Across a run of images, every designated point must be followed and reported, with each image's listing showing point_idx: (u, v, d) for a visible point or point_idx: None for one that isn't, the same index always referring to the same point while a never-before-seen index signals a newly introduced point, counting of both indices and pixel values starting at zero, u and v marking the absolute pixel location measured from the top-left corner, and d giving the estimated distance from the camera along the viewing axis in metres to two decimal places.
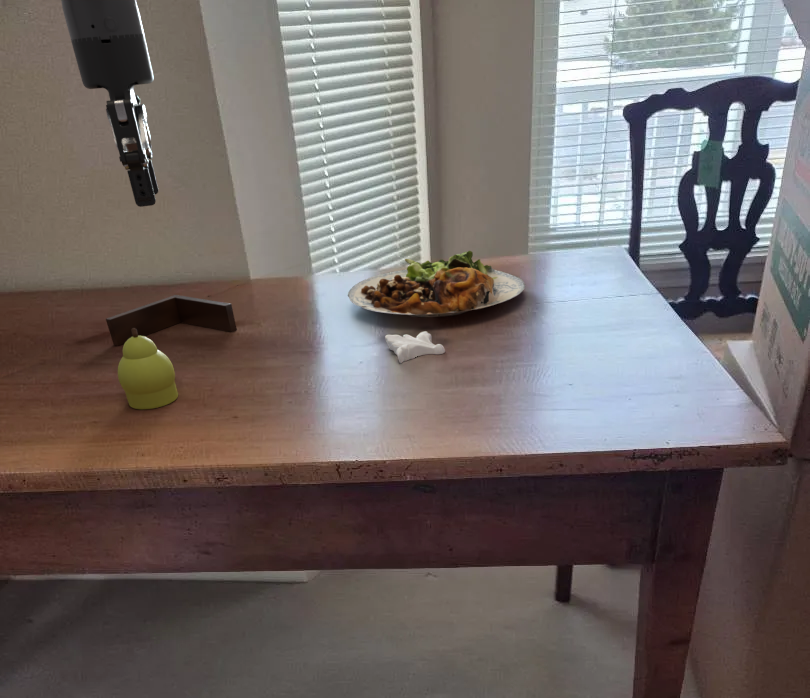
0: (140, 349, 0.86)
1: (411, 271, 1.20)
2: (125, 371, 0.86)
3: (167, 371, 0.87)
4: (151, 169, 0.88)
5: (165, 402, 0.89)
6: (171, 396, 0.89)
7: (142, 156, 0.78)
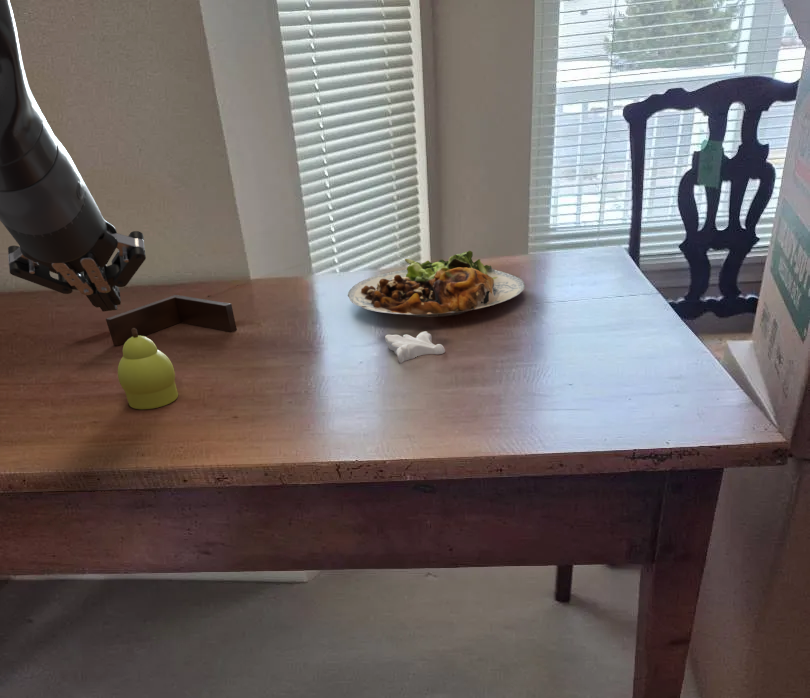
0: (140, 349, 0.86)
1: (411, 271, 1.20)
2: (125, 371, 0.86)
3: (167, 371, 0.87)
4: None
5: (165, 402, 0.89)
6: (171, 396, 0.89)
7: None
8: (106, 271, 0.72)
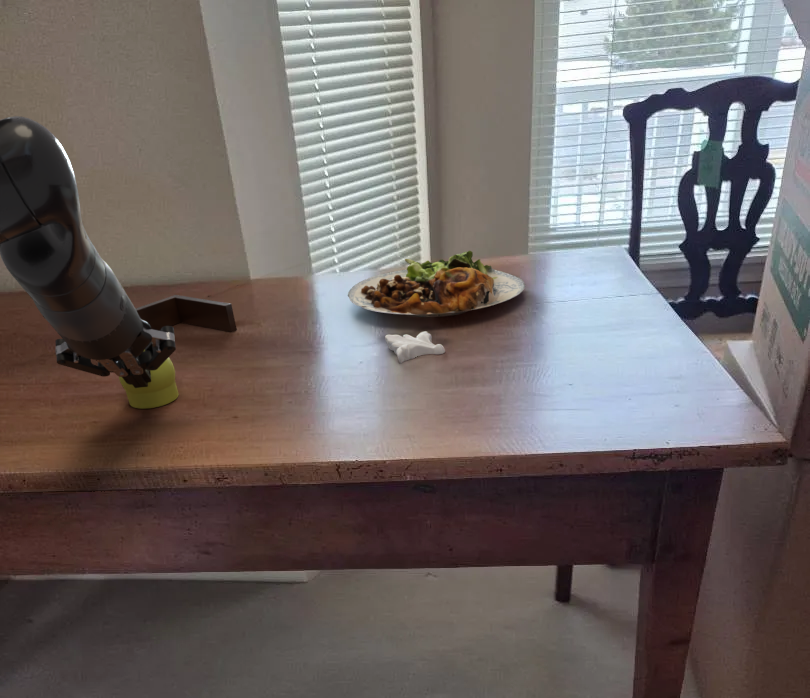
0: None
1: (411, 271, 1.20)
2: None
3: (167, 370, 0.88)
4: None
5: (166, 401, 0.89)
6: (171, 395, 0.89)
7: None
8: (140, 357, 0.81)
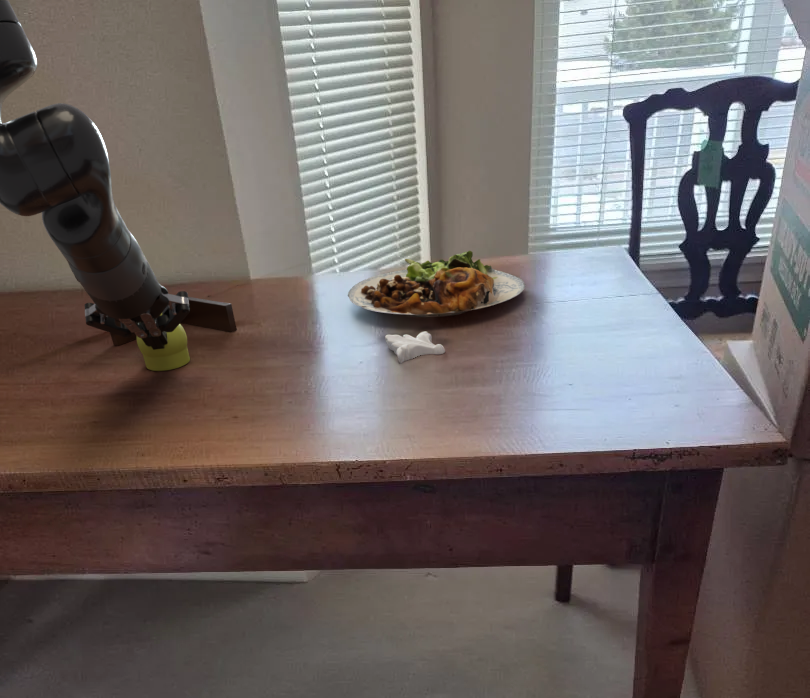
0: None
1: (411, 271, 1.20)
2: None
3: (181, 336, 0.99)
4: None
5: (180, 364, 1.00)
6: (185, 359, 1.00)
7: None
8: (158, 320, 0.92)
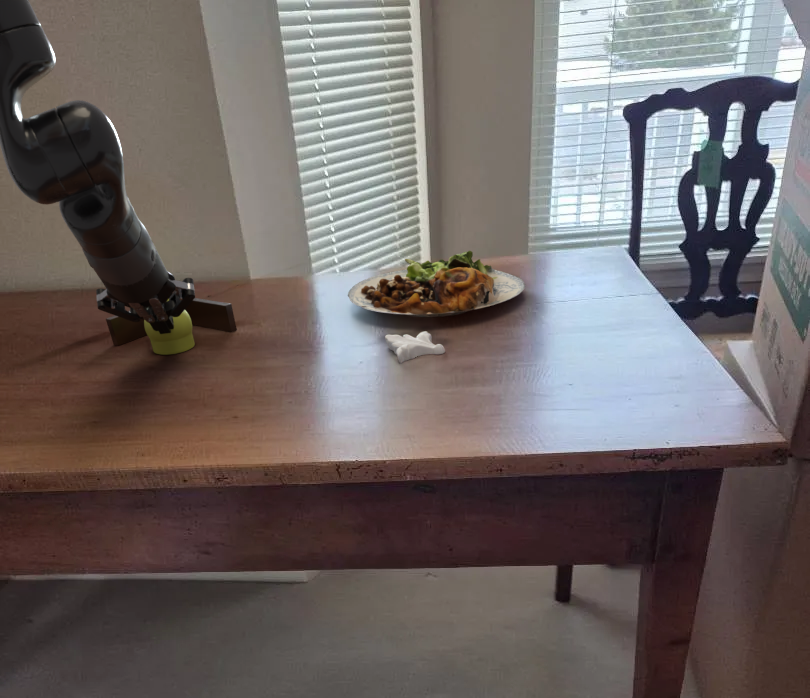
0: None
1: (411, 271, 1.20)
2: None
3: (187, 321, 1.04)
4: None
5: (185, 348, 1.05)
6: (190, 343, 1.06)
7: None
8: (165, 305, 0.97)
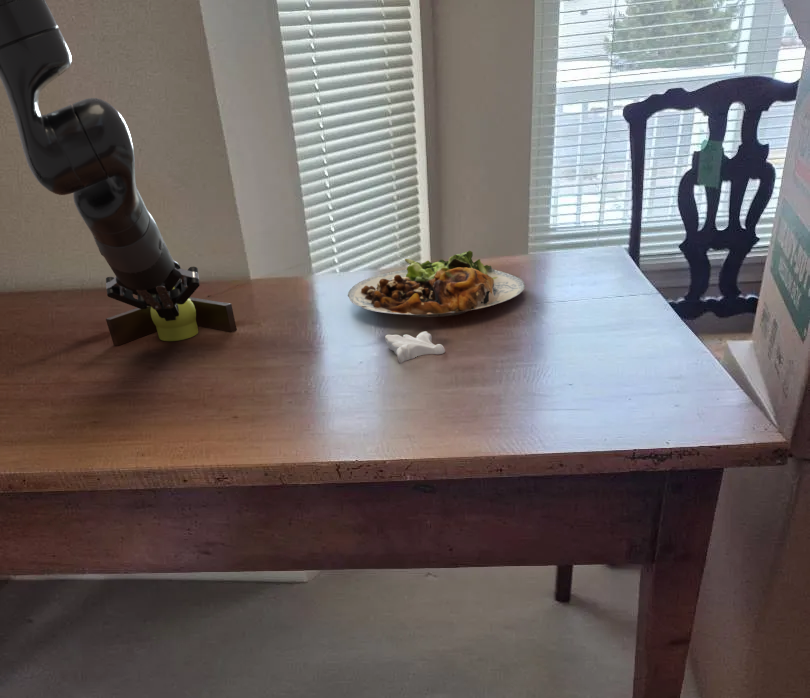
0: None
1: (411, 271, 1.20)
2: None
3: (191, 309, 1.09)
4: None
5: (190, 335, 1.10)
6: (194, 330, 1.11)
7: None
8: (171, 293, 1.02)
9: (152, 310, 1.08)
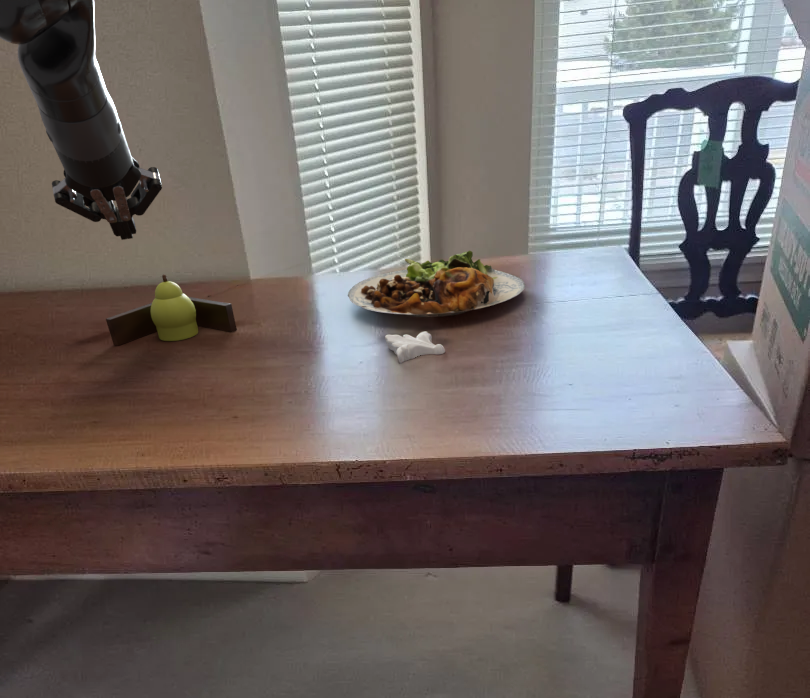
0: (170, 291, 1.07)
1: (411, 271, 1.20)
2: (159, 309, 1.07)
3: (191, 309, 1.09)
4: (122, 225, 0.92)
5: (190, 335, 1.10)
6: (194, 330, 1.11)
7: (92, 220, 0.90)
8: (127, 203, 0.90)
9: (152, 310, 1.08)
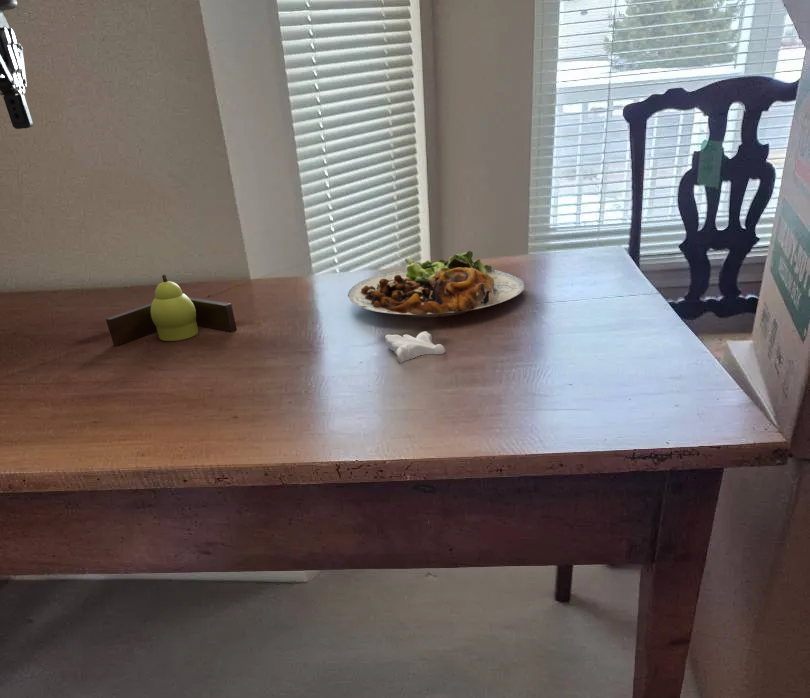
0: (170, 291, 1.07)
1: (411, 271, 1.20)
2: (159, 309, 1.07)
3: (191, 309, 1.09)
4: None
5: (190, 335, 1.10)
6: (194, 330, 1.11)
7: (12, 85, 0.91)
8: None
9: (152, 310, 1.08)
